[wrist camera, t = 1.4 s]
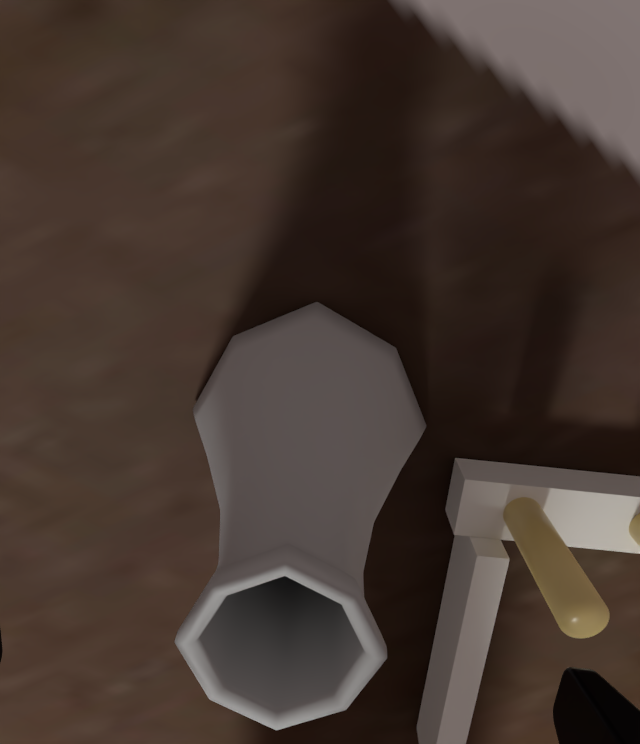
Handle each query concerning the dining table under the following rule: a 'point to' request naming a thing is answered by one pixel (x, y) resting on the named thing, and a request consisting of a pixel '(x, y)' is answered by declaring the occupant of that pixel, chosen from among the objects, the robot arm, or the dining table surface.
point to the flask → (297, 513)
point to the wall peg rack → (490, 563)
